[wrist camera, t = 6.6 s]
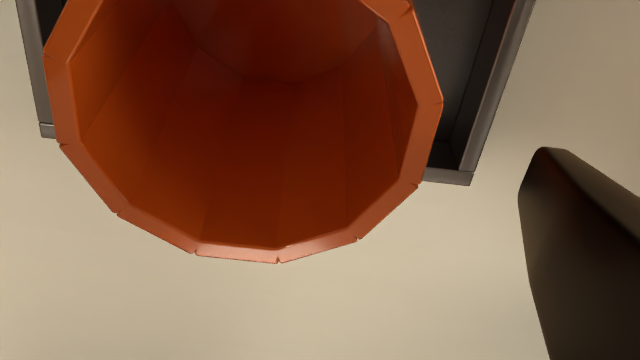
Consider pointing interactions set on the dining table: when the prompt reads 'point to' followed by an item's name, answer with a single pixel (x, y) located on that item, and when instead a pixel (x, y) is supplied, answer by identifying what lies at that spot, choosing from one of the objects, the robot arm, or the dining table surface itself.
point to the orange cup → (245, 117)
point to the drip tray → (446, 52)
